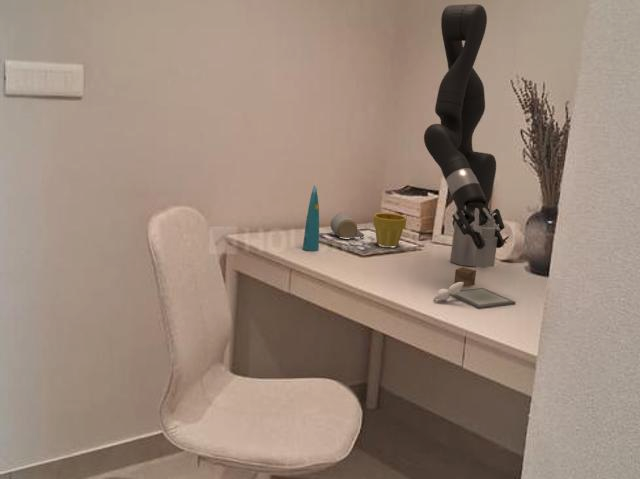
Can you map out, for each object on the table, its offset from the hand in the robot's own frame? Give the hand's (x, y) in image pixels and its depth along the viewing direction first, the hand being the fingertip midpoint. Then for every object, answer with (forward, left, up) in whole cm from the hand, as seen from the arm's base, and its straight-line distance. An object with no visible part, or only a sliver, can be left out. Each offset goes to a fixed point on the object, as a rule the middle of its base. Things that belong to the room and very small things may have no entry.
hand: (491, 246), depth 175 cm
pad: (0, -2, -14) cm, 14 cm away
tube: (+18, -58, -14) cm, 62 cm away
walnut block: (-5, -14, -14) cm, 20 cm away
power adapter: (0, -2, -5) cm, 6 cm away
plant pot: (-9, -56, -14) cm, 58 cm away
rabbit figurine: (+9, -2, -14) cm, 17 cm away
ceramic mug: (-2, -69, -14) cm, 70 cm away
